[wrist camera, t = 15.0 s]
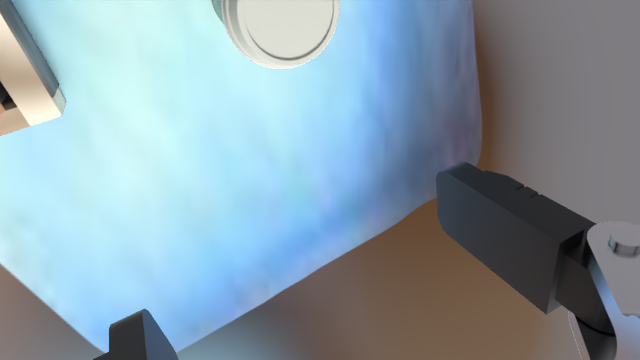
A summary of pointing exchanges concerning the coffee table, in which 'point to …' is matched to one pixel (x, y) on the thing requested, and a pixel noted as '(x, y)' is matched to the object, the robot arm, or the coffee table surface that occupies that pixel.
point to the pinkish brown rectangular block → (2, 97)
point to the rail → (24, 76)
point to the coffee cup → (279, 29)
